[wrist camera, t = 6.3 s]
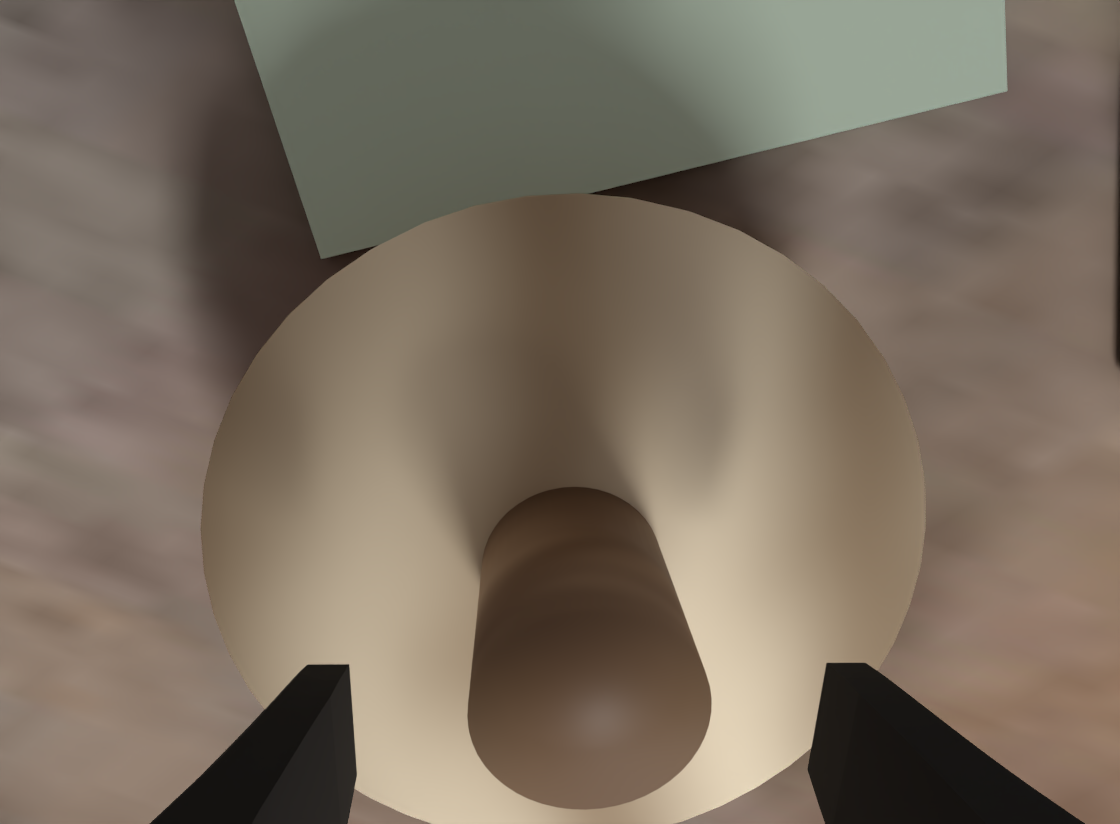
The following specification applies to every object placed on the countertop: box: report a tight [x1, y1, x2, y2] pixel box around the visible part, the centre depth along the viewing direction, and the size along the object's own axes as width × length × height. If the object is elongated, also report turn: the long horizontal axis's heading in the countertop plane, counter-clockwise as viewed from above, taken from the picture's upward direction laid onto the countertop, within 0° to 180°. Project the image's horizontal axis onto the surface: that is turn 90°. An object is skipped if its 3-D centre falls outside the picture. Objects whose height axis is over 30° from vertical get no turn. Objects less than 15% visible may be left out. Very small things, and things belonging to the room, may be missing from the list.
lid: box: [201, 193, 926, 824], centre depth 13 cm, size 14×14×5 cm
